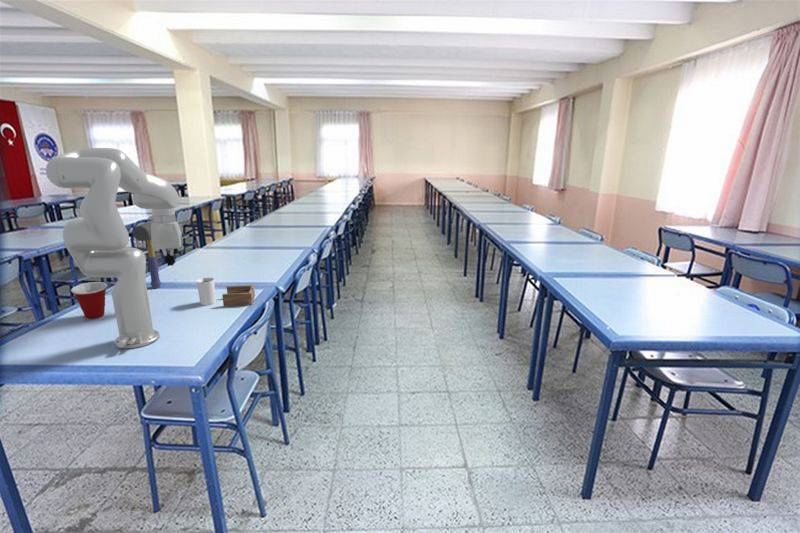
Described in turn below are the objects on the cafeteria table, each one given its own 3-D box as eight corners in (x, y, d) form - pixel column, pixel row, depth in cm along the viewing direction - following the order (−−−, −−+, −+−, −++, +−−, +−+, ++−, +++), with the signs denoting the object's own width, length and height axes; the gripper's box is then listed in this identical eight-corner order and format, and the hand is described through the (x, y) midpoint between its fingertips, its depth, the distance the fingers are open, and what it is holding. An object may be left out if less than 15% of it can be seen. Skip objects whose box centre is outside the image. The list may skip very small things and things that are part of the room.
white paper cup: (214, 299, 175) (212, 276, 173) (218, 303, 170) (216, 280, 167) (197, 302, 171) (194, 279, 169) (201, 306, 166) (198, 283, 164)
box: (252, 304, 170) (251, 293, 168) (223, 306, 167) (222, 294, 166) (255, 295, 180) (254, 284, 179) (228, 297, 178) (227, 286, 176)
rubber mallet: (157, 291, 183) (147, 225, 174) (140, 292, 182) (129, 225, 174) (171, 283, 195) (162, 220, 186) (155, 283, 194) (145, 220, 186)
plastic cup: (75, 324, 148) (69, 293, 145) (78, 314, 156) (71, 284, 153) (112, 318, 154) (106, 288, 150) (112, 309, 162) (107, 280, 159)
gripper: (139, 221, 154) (146, 268, 159) (183, 220, 157) (189, 266, 162) (146, 218, 161) (153, 263, 166) (188, 217, 164) (193, 261, 169)
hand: (171, 264), depth 164 cm, fingers closed
